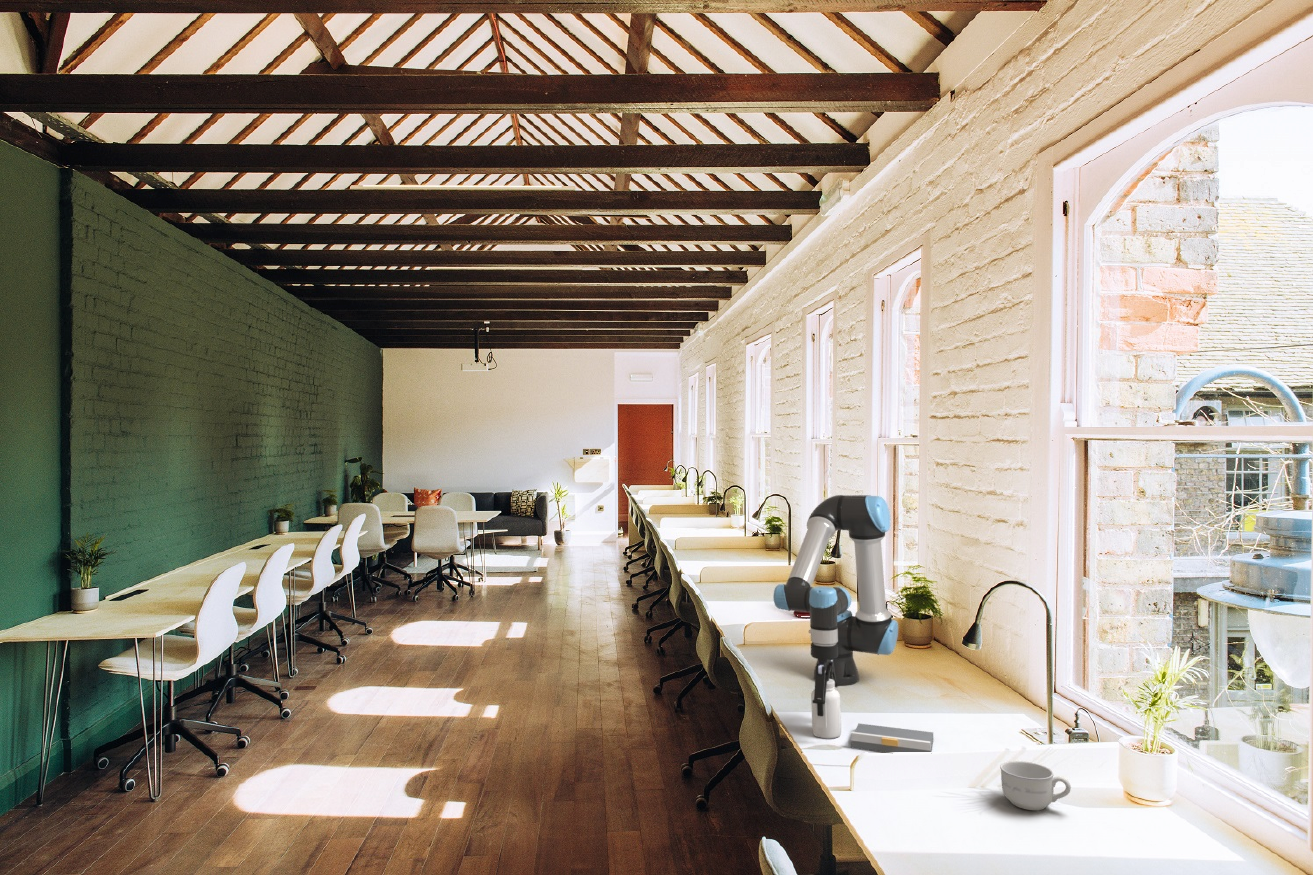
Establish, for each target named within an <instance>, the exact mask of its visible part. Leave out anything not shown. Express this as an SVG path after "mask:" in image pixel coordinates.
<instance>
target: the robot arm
mask: <svg viewBox="0 0 1313 875" xmlns="http://www.w3.org/2000/svg"><path fill="white" fill-rule="evenodd" d="M890 528H891V514H890V509H889V505H888V503H887V502H886V500H885V498H883V497H882V496H880V495H879V496H877V495H870V494H869V495H868V494H867V495H864V494H863V495H862V494H861V495H856V494H855V495H852V494H850V495H848V494H847V495H846V494H845V495H843V494H839V495H838V494H837V495H833V496H830V497H828V498H826V499H825V500H823V501H821V503H819V504H818V505H817V506H816V507H815V508H814V509H813V510H812V512H811V513H810V515H809V516H808V519H807V521H806V529H807V531H806V533H805V536H804V538H803V541H802V543H801V545H800V549H799V551H798V553H797V555H796V558H795V560H794V563H793V566H792V569H791V571H790V574H789V576H788V578H787V580H786V583H782V584H777V585H776V586H775V587H774V591H773V603H774V606H775V607H776V608H777V609H778V610H785V611H788V612H790V611H793V612H794V611H801V612H810V618H809V621H810V622H809V626H810V629H809V630H808V633H809V634H810V641H811V643H810V655H811V657H812V658H814V659H816V664H815V667H814V669H813V679H814V689H815V692H814V700H813V703H816V727H822V728H826V727H827V721H826V703H825V697H826V688H827V681H829V679H833V680H834V681H835V688H838V686H849V685H854V684H856V683H858V682H859V680H860V678H859V677H860V675H859V669H858V668H857V664H856V662H855V659H854V652H858V653H865V654H872V655H873V654H874V655H877V656H879V655H881V656H883V655H884V656H889V655H892V654H893V652H894V650H895V648H896V645H897V640H898V636H899V624H898V621H897V620H895V619H893V618H892V613H891V611H890V610H888V608H887V606H886V591H885V577H884V576H885V575H884V562H883V550H882V549H883V548H882V540H883V539H884V538H885V537H886V533H887V532H889V531H890ZM836 531H848V537H849V539H850V540H852V541H853V542H854V543H853V545H854V554H855V568H856V578H857V579H856V580H857V591H858V603H859V606H858V607H859V609H858V610H857V611H856V612H855V615H853V612H852V610H849V608H850V607H851V604H852V597H851V594H850V592H849V591H848V590H847V589H846V588H844V587H843V586H842V587H841V586H833V587H832V586H825V585H823V586H813V584H814V582H815V579H816V576H817V574H818V570H819V567H820V565H821V562H822V559H823V556H824V554H825V552H826V549H827V546H828V543H829V542H830V539H831V538H832V537H834V536H835V533H836ZM818 698H821V699H818Z"/></svg>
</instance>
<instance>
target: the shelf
mask: <svg viewBox="0 0 1313 875" xmlns="http://www.w3.org/2000/svg"><path fill="white" fill-rule="evenodd" d="M850 739H851V740H850V742H851V743H850V745H851V746H850V747H851V749H857V750H865V751H871V752H872V751H873V752H878V753H879V752H880V753H886V752H932V751H933V747H934V746H933V745H934V732H933V731H925V730H916V729H909V728H908V729H907V728H901V727H890V726H881V725H874V724H868V723H860V722H859V723H858V724H857V725H856V728H855V731H851V732H850ZM932 753H933V752H932Z"/></svg>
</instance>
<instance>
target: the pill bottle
mask: <svg viewBox="0 0 1313 875" xmlns="http://www.w3.org/2000/svg"><path fill="white" fill-rule="evenodd" d="M814 692H815V688H814V689H813V690H811V693H810V694H811V695H810V698H811V699H810V700H811V704H810V705H811V726H812V733H813V735H814V736H816V737H818V738H822V739H835V738H838V737H840V736H841V735H842V720H841V719H842V716H841V715H842V714H841V694H840V692H839V691H838V690H837V689H836V687H835V681H834V680H833V679H829V681H827V688H826V697H825V703H826V721H827V727H826V728H822V727H816V703H813V700H814ZM818 699H821V698H818Z"/></svg>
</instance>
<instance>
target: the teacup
mask: <svg viewBox="0 0 1313 875" xmlns="http://www.w3.org/2000/svg"><path fill="white" fill-rule="evenodd" d="M999 766H1000V767H999V768H1000V776H1001V778H1000V779H1001V789H1002V792H1003V795H1004V796H1005V798H1006V799H1007V800H1009V801H1010V803H1011V804H1012V805H1014V806H1015V807H1018V808H1020V809H1024V810H1029V811H1041V810H1044V809H1045V808H1046V807H1048V806H1049V805H1050V804H1051V803H1056V802H1057V800H1060V799H1063V798H1065V797H1066V796H1068V795H1069V794H1070V793H1071V791H1072V790H1071V788H1072V787H1071V783H1070V781H1069V780H1068V779H1067V778H1066V777H1064V776H1061V775H1057V776H1054V772H1053V770H1052V769H1050V768H1048V767H1047V766H1045V765H1042V764H1040V763H1036V762H1031V761H1023V760H1011V761H1004V762H1003V763H1001V764H1000V765H999ZM1058 782H1062V783H1063V785H1065V789H1064V790H1063V791H1062V792H1059V793H1054V788H1055V787H1056V785H1057V783H1058Z"/></svg>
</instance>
